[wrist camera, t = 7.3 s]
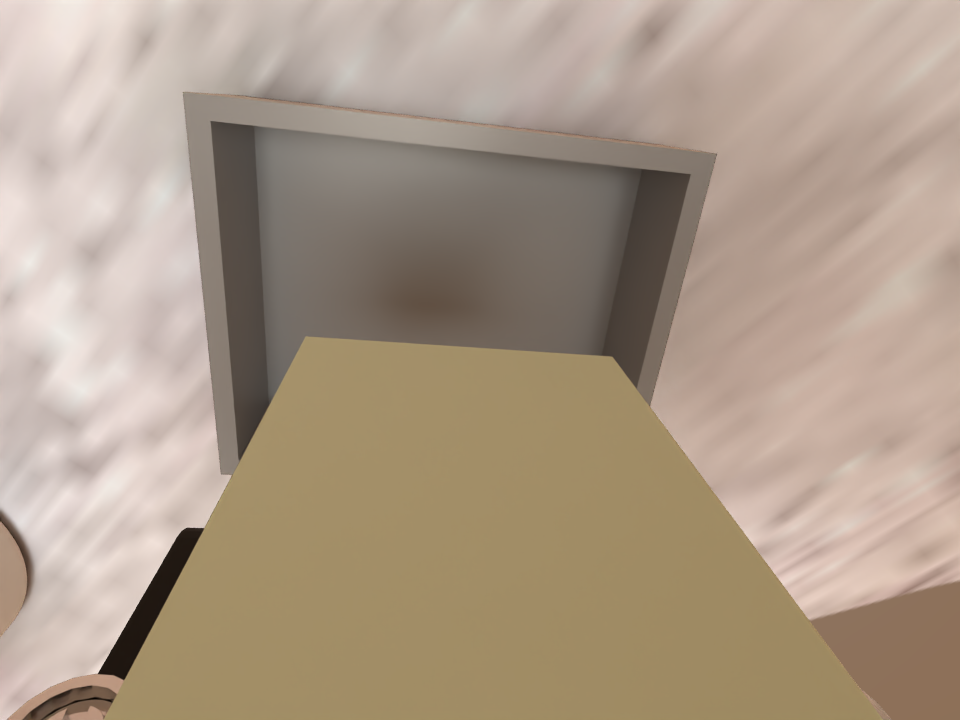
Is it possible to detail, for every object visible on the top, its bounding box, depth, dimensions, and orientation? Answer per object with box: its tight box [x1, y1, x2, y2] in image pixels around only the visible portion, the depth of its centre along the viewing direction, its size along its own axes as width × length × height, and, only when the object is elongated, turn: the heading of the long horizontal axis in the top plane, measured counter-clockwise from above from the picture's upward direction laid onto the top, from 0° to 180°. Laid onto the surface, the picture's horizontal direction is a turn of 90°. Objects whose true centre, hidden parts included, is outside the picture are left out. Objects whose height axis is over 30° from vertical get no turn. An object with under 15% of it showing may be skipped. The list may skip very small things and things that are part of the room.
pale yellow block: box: [104, 336, 883, 720], centre depth 8 cm, size 6×6×8 cm
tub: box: [183, 92, 717, 475], centre depth 22 cm, size 16×13×5 cm
